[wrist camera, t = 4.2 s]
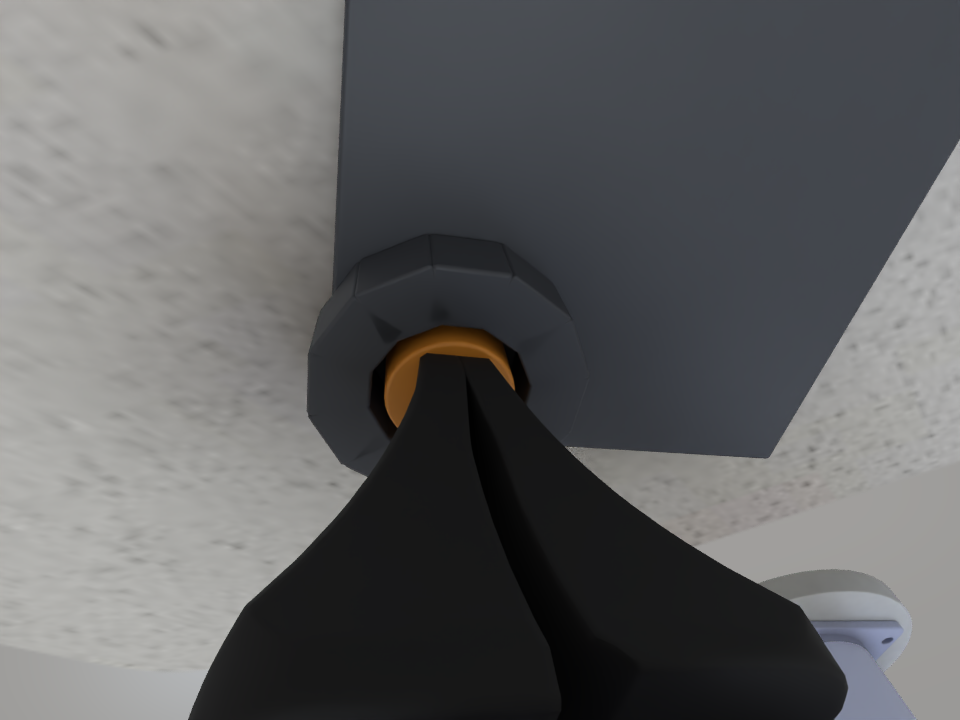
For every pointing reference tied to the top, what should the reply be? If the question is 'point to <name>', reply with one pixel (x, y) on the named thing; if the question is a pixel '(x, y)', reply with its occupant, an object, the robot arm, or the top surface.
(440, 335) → the power button
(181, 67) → the top surface
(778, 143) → the scale
